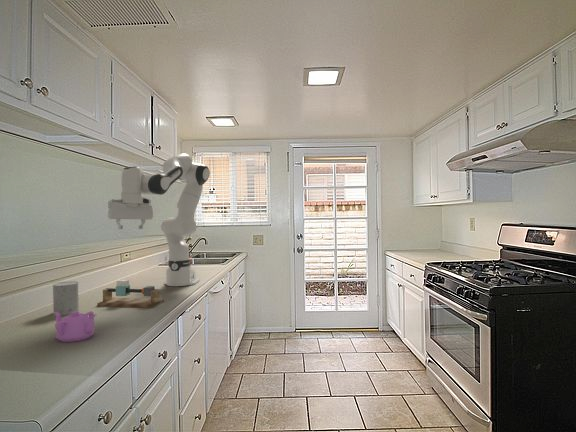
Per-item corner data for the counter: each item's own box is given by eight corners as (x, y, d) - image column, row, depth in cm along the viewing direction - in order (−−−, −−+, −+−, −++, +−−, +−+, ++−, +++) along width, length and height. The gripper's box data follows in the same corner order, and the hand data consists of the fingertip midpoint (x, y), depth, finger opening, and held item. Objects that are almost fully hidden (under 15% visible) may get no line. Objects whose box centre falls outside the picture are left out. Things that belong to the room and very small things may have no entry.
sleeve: (115, 296, 182) (115, 281, 182) (121, 294, 186) (121, 279, 186) (124, 296, 181) (124, 281, 181) (130, 294, 186) (129, 279, 186)
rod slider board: (97, 305, 180) (97, 291, 180) (113, 299, 191) (113, 286, 191) (150, 307, 175) (150, 292, 175) (163, 301, 187) (163, 287, 187)
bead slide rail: (103, 294, 183) (103, 286, 183) (109, 293, 187) (108, 285, 187) (153, 296, 179) (153, 287, 179) (158, 294, 183) (157, 286, 183)
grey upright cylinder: (51, 316, 163) (50, 286, 162) (55, 310, 172) (54, 282, 171) (77, 313, 166) (76, 284, 166) (80, 308, 175) (79, 280, 175)
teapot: (96, 340, 132) (96, 313, 131) (48, 346, 126) (47, 318, 126) (98, 330, 142) (97, 305, 142) (53, 335, 137) (53, 310, 137)
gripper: (110, 198, 180) (109, 229, 180) (154, 200, 194) (154, 228, 193) (106, 199, 185) (105, 229, 185) (149, 201, 199) (149, 228, 198)
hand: (130, 229), depth 189 cm, fingers open, 8 cm apart
